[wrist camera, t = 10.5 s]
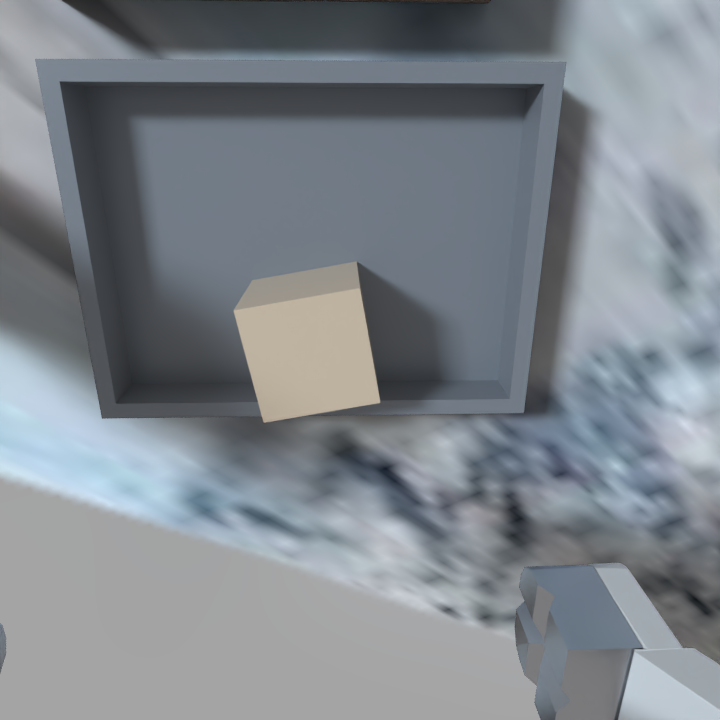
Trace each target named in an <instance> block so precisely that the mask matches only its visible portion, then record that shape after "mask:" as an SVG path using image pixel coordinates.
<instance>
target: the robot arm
mask: <svg viewBox="0 0 720 720" xmlns="http://www.w3.org/2000/svg"><path fill="white" fill-rule="evenodd" d="M519 588H520V590H521V593H522V595H523V598H524V600H525V601H524V602H523V603H522V604H521V605H520V606H519V607H518V608H517V609H516V618H515V637H516V647H517V651H518V655H519V660H520V663H521V666H522V668H523V672H524V675H525V676H526V677H528V678H529V679H530V680H531V681H532V682H533V683H534V684H535V685H537V689H536V695H535V706H536V708H537V711H538V714H539V716H540V719H541V720H720V665H719V664H718V663H716V662H715V661H713V660H712V659H710V658H708V657H707V656H705V655H704V654H702V653H701V652H699V651H698V650H696V649H694V648H683V647H682V645H681V644H680V643H679V641H678V640H677V638H676V637H675V635H674V634H673V633H672V631H671V630H670V628H669V627H668V625H667V624H666V623H665V621H664V620H663V618H662V617H661V615H660V614H659V612H658V611H657V610H656V608H655V607H654V605H653V604H652V602H651V601H650V600H649V598H648V597H647V595H646V594H645V592H644V591H643V590H642V588H641V587H640V585H639V584H638V582H637V581H636V579H635V578H634V577H633V575H632V574H631V572H630V571H629V569H628V568H627V567H626V566H625V565H623V564H621V563H602V564H588V565H564V566H536V567H524V569H523V571H522V573H521V578H520V585H519ZM5 656H6V636H5V632H4V629H3V626H2V625H1V624H0V672H1V669H2V666H3V662H4V659H5Z"/></svg>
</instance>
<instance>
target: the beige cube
mask: <svg viewBox="0 0 720 720" xmlns="http://www.w3.org/2000/svg"><path fill="white" fill-rule="evenodd" d="M234 315H235V318H236V322H237V326H238V329H239V333H240V337H241V341H242V344H243V348H244V352H245V355H246V359H247V363H248V367H249V370H250V374H251V378H252V382H253V385H254V389H255V393H256V396H257V400H258V404H259V408H260V411H261V415H262V419H263V423H265V422H271V421H277V420H283V419H289V418H295V417H301V416H306V415H312V414H318V413H324V412H330V411H336V410H341V409H347V408H353V407H359V406H365V405H371V404H377V403H380V396H379V389H378V383H377V376H376V369H375V362H374V356H373V351H372V345H371V339H370V334H369V328H368V322H367V317H366V311H365V306H364V300H363V294H362V289H361V283H360V277H359V272H358V266H357V261H356V262H351V263H345V264H340V265H334V266H329V267H323V268H318V269H312V270H306V271H301V272H295V273H290V274H284V275H279V276H273V277H268V278H262V279H256V280H252V281H251V283H250V285H249V286H248V288H247V290H246V291H245V293H244V294H243V296H242V298H241V299H240V301H239V302H238V304H237V306H236V307H235V309H234Z"/></svg>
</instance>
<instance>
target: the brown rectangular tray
mask: <svg viewBox="0 0 720 720" xmlns="http://www.w3.org/2000/svg"><path fill="white" fill-rule="evenodd" d="M226 1H338V2H451V3H488V2H489V1H491V0H226Z"/></svg>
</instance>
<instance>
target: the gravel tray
mask: <svg viewBox="0 0 720 720" xmlns="http://www.w3.org/2000/svg"><path fill="white" fill-rule="evenodd" d="M35 61H36V66H37V72H38V77H39V82H40V88H41V93H42V99H43V104H44V109H45V115H46V120H47V125H48V131H49V136H50V142H51V147H52V152H53V158H54V163H55V168H56V174H57V179H58V184H59V190H60V195H61V201H62V206H63V211H64V217H65V222H66V227H67V233H68V238H69V244H70V249H71V254H72V260H73V265H74V270H75V276H76V281H77V287H78V292H79V297H80V303H81V308H82V313H83V319H84V324H85V329H86V335H87V340H88V346H89V351H90V356H91V362H92V367H93V372H94V378H95V383H96V389H97V394H98V399H99V405H100V410H101V415H102V418H171V417H249V416H262V415H261V411H260V408H259V404H258V400H257V396H256V393H255V389H254V385H253V382H252V378H251V374H250V370H249V367H248V363H247V359H246V355H245V352H244V348H243V344H242V341H241V337H240V333H239V329H238V326H237V322H236V318H235V315H234V309H235V307H236V306H237V304H238V302H239V301H240V299H241V298H242V296H243V294H244V293H245V291H246V290H247V288H248V286H249V285H250V283H251V281H252V280H256V279H262V278H268V277H273V276H279V275H284V274H290V273H295V272H301V271H306V270H312V269H318V268H323V267H329V266H334V265H340V264H345V263H351V262H356V261H357V266H358V272H359V277H360V283H361V289H362V294H363V300H364V306H365V311H366V317H367V322H368V328H369V334H370V339H371V345H372V351H373V356H374V362H375V369H376V376H377V383H378V389H379V396H380V403H377V404H371V405H365V406H359V407H353V408H347V409H341V410H336V411H330V412H324V413H318V414H312V415H306V416H328V415H407V414H486V413H524V407H525V399H526V391H527V383H528V374H529V366H530V358H531V350H532V341H533V333H534V325H535V316H536V308H537V300H538V292H539V283H540V275H541V267H542V259H543V250H544V242H545V234H546V226H547V217H548V209H549V201H550V192H551V184H552V176H553V168H554V159H555V151H556V143H557V135H558V126H559V118H560V110H561V102H562V93H563V85H564V77H565V69H566V62H470V61H298V60H126V59H35Z"/></svg>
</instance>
